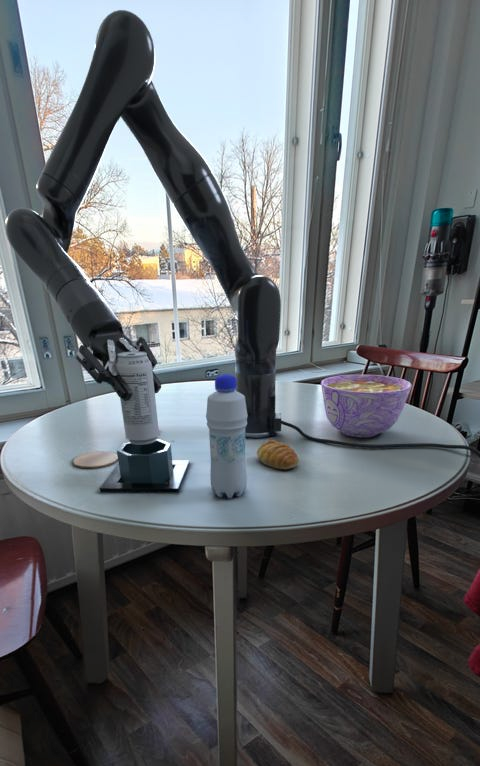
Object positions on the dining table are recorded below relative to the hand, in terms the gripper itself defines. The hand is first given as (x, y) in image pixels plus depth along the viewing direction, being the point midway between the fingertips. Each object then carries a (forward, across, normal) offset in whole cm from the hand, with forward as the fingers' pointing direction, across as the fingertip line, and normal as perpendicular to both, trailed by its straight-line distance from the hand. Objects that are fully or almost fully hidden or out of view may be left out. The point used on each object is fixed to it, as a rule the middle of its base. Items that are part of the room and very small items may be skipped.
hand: (143, 393), depth 78 cm
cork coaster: (-1, 0, +24) cm, 24 cm away
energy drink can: (+5, 0, +7) cm, 9 cm away
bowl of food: (+25, +49, -2) cm, 55 cm away
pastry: (+21, +21, +1) cm, 30 cm away
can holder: (+10, 0, +12) cm, 16 cm away
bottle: (+22, +3, 0) cm, 23 cm away
